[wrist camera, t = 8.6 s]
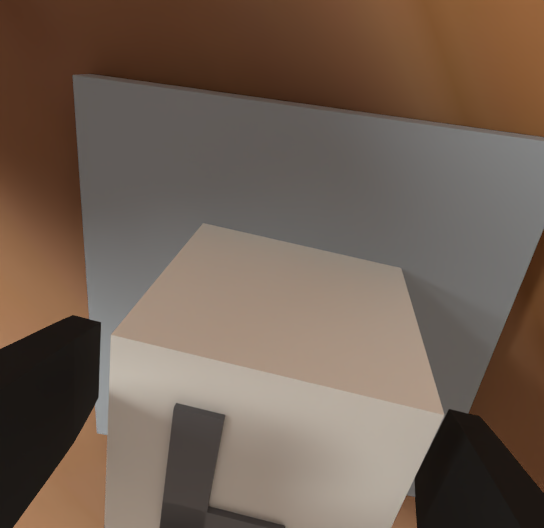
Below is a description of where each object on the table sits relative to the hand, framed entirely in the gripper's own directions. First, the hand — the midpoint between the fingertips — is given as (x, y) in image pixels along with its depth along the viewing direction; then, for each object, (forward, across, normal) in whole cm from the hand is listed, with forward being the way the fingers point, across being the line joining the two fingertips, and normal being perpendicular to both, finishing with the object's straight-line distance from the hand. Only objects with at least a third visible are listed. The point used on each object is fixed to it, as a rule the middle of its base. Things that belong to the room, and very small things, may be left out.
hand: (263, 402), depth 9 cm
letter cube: (+3, 0, 0) cm, 3 cm away
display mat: (+4, 0, 0) cm, 4 cm away
